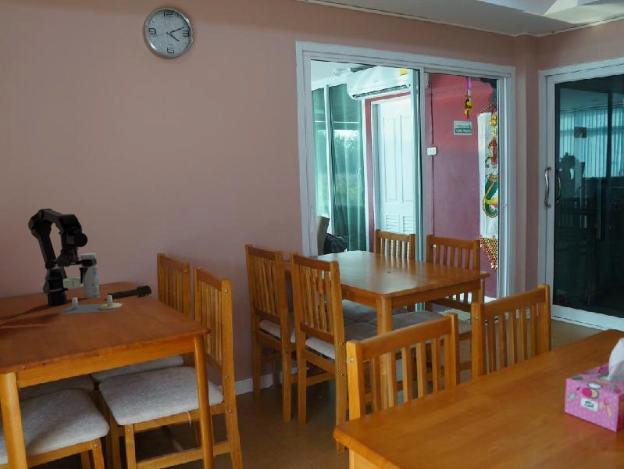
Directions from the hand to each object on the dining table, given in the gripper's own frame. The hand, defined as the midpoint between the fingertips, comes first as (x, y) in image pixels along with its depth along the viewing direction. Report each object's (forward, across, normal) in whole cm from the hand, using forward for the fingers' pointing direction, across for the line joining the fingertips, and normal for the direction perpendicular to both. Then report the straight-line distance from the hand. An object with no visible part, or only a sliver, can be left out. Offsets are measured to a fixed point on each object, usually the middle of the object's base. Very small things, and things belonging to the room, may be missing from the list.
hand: (73, 284), depth 229 cm
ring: (+1, 0, 0) cm, 1 cm away
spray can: (+11, -2, +24) cm, 27 cm away
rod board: (+11, +7, 0) cm, 13 cm away
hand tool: (+12, +16, +21) cm, 29 cm away
